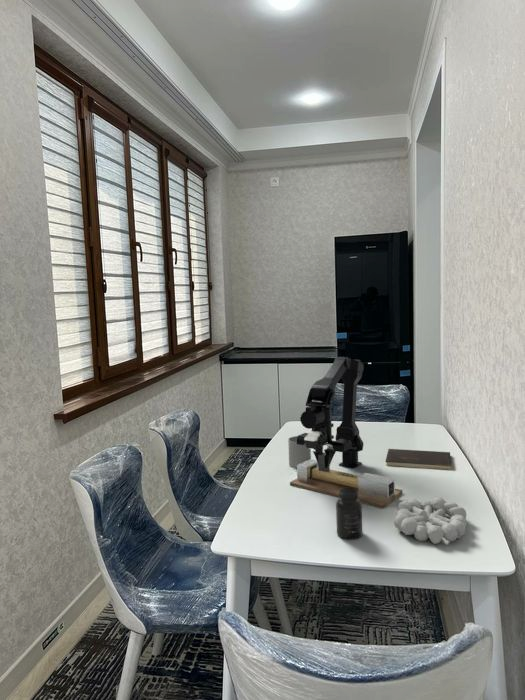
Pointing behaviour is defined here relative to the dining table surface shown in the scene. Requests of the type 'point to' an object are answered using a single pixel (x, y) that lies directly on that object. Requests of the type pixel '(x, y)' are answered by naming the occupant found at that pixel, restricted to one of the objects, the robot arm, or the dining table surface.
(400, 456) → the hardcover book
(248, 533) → the dining table surface
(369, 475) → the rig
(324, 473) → the brass t-shaped handle
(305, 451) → the cup
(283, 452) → the dining table surface
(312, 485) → the board
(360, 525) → the supplement bottle
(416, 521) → the campfire
